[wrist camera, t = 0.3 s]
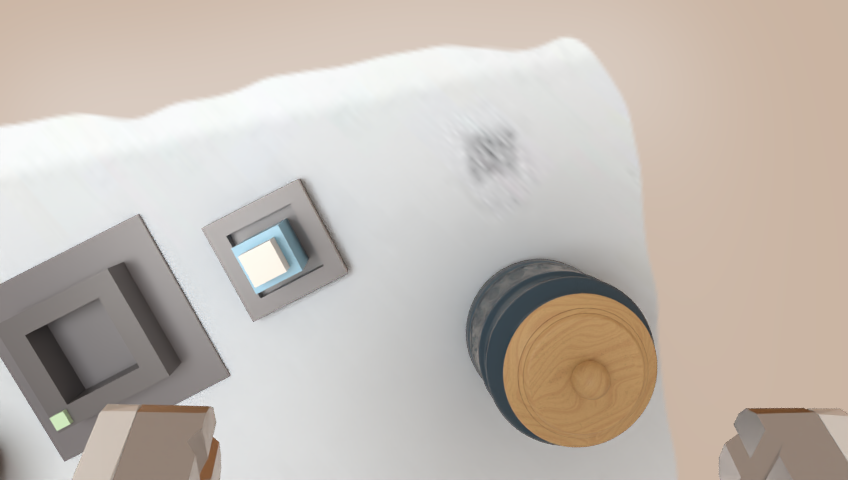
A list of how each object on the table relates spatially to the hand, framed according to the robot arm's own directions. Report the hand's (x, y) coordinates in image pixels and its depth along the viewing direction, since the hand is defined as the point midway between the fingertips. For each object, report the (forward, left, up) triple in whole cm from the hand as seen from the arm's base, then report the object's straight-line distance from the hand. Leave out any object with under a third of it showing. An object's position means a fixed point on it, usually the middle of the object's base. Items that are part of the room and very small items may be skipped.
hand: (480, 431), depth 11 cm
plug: (+1, +10, -52) cm, 53 cm away
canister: (-16, -7, -53) cm, 56 cm away
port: (+1, +27, -53) cm, 59 cm away
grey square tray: (+1, +10, -53) cm, 54 cm away
